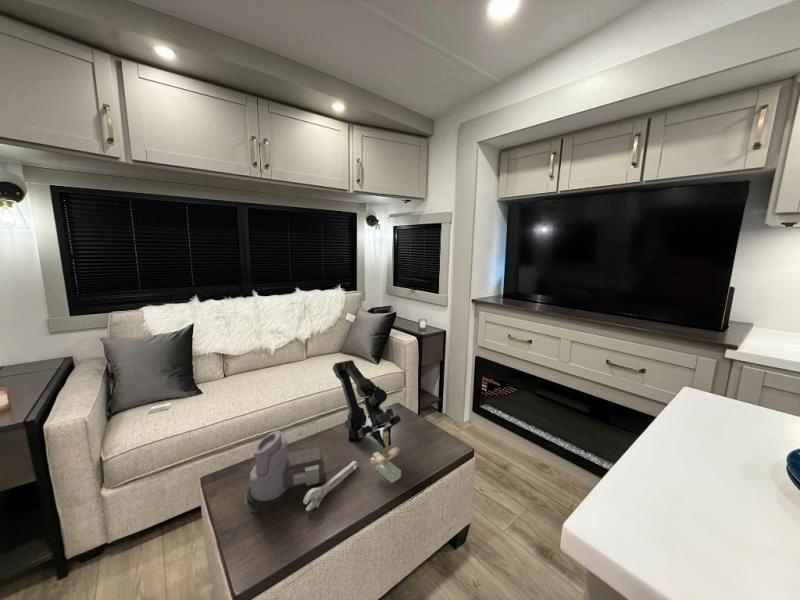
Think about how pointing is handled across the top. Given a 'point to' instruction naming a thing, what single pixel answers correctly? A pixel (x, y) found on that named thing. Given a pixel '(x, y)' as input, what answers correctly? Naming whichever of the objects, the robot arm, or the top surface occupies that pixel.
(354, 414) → the robot arm
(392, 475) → the ridge
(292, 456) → the juicer
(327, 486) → the wrench
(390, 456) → the rubber stamp
